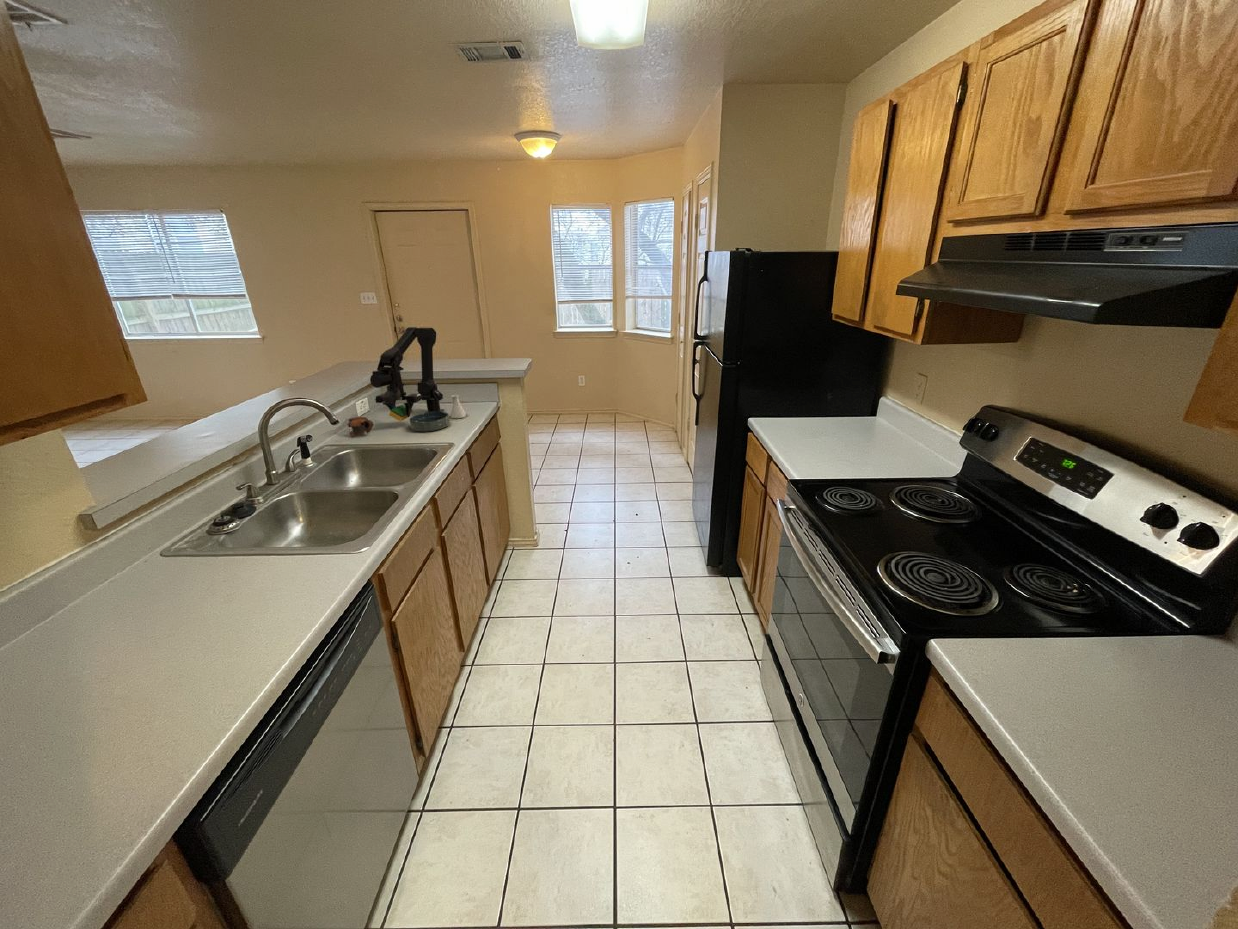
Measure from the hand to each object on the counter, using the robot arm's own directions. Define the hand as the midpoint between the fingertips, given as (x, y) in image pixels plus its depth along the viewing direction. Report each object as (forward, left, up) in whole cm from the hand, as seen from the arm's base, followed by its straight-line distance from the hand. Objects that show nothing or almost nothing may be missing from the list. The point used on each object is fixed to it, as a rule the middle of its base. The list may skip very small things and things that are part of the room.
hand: (402, 417), depth 224 cm
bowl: (+2, +14, -4) cm, 15 cm away
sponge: (0, -1, +1) cm, 1 cm away
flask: (-13, +20, -4) cm, 24 cm away
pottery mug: (+12, -12, -4) cm, 17 cm away
